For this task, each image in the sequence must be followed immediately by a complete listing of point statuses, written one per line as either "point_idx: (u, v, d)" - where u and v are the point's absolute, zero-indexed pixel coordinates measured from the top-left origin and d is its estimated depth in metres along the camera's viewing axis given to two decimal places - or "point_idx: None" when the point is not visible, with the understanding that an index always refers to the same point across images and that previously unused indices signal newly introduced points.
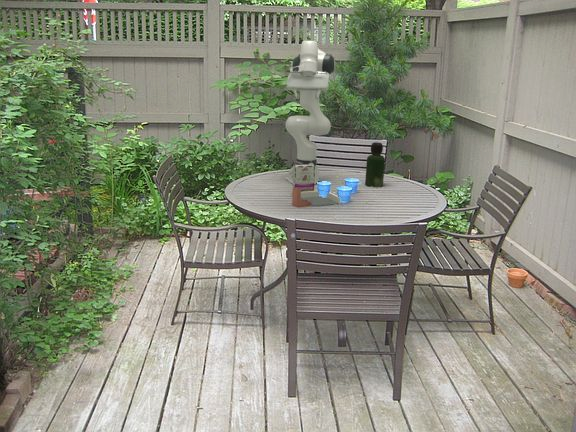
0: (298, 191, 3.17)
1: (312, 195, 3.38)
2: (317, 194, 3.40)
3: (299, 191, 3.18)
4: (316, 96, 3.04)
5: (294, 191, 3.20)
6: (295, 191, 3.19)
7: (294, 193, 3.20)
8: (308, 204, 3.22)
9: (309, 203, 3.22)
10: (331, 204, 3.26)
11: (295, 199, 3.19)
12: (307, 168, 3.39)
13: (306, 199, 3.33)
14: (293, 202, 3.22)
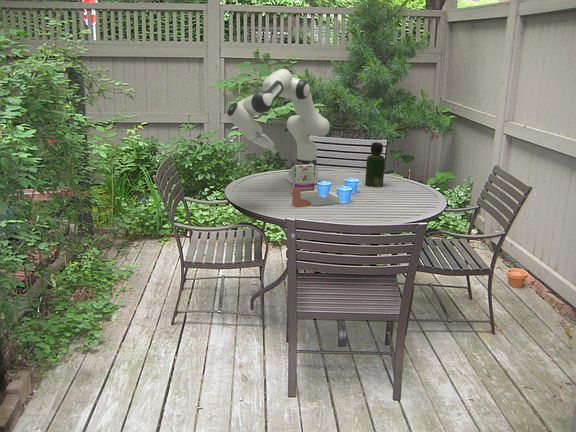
0: (298, 191, 3.17)
1: (312, 195, 3.38)
2: (317, 194, 3.40)
3: (299, 191, 3.18)
4: (272, 152, 3.10)
5: (294, 191, 3.20)
6: (295, 191, 3.19)
7: (294, 193, 3.20)
8: (308, 204, 3.22)
9: (309, 203, 3.22)
10: (331, 204, 3.26)
11: (295, 199, 3.19)
12: (307, 168, 3.39)
13: (306, 199, 3.33)
14: (293, 202, 3.22)
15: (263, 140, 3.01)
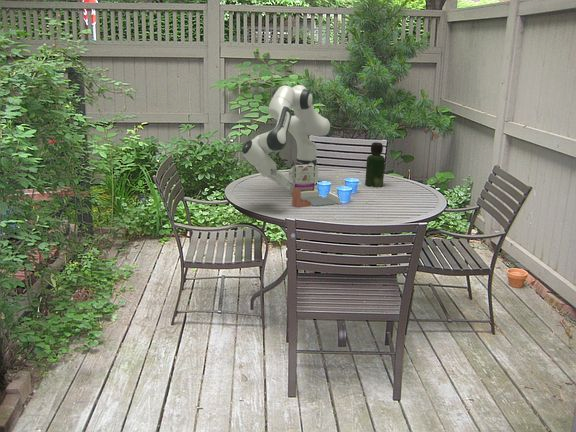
0: (298, 191, 3.17)
1: (312, 195, 3.38)
2: (317, 194, 3.40)
3: (299, 191, 3.18)
4: None
5: (294, 191, 3.20)
6: (295, 191, 3.19)
7: (294, 193, 3.20)
8: (308, 204, 3.22)
9: (309, 203, 3.22)
10: (331, 204, 3.26)
11: (295, 199, 3.19)
12: (307, 168, 3.39)
13: (306, 199, 3.33)
14: (293, 202, 3.22)
15: (278, 177, 3.03)
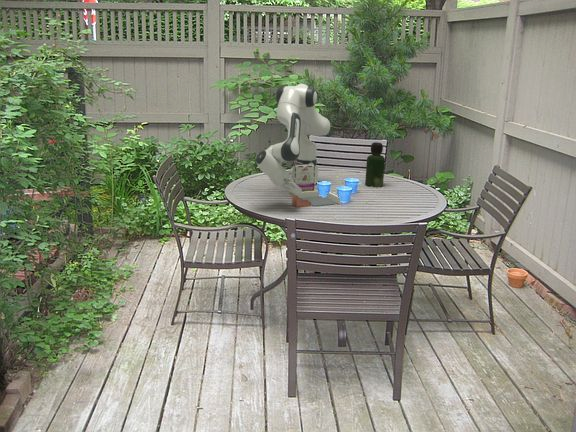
0: None
1: (312, 195, 3.38)
2: (317, 194, 3.40)
3: None
4: (298, 197, 3.17)
5: None
6: None
7: None
8: (308, 204, 3.22)
9: (309, 203, 3.22)
10: (331, 204, 3.26)
11: (295, 199, 3.19)
12: (307, 168, 3.39)
13: (306, 199, 3.33)
14: (293, 202, 3.22)
15: (291, 187, 3.07)
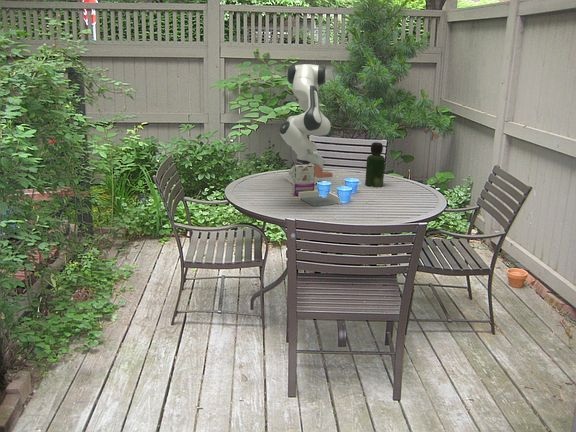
0: None
1: (312, 195, 3.38)
2: (317, 194, 3.40)
3: None
4: None
5: None
6: None
7: None
8: (330, 175, 3.25)
9: (331, 174, 3.26)
10: (331, 204, 3.26)
11: (318, 170, 3.23)
12: (307, 168, 3.39)
13: (306, 199, 3.33)
14: (315, 173, 3.26)
15: (314, 157, 3.11)
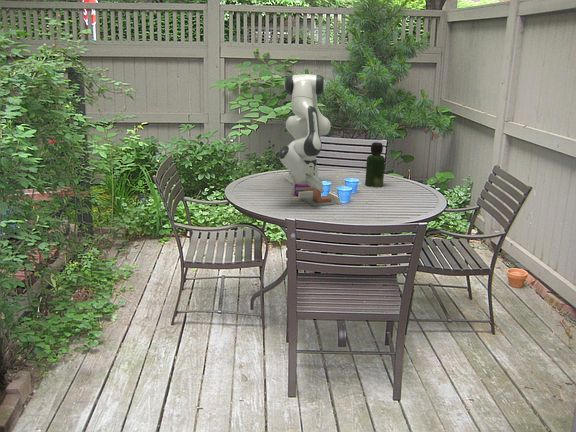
0: None
1: (312, 195, 3.38)
2: None
3: None
4: None
5: None
6: None
7: (315, 189, 3.27)
8: (328, 200, 3.29)
9: (329, 199, 3.29)
10: (331, 204, 3.26)
11: (316, 195, 3.26)
12: None
13: (306, 199, 3.33)
14: (314, 198, 3.29)
15: (313, 182, 3.14)
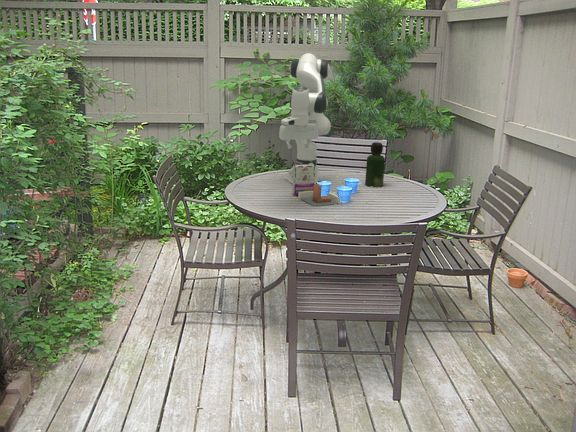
0: (319, 187, 3.25)
1: (312, 195, 3.38)
2: None
3: (320, 187, 3.25)
4: (307, 146, 3.17)
5: (315, 187, 3.27)
6: (316, 187, 3.26)
7: (315, 189, 3.27)
8: (328, 200, 3.29)
9: (329, 199, 3.29)
10: (331, 204, 3.26)
11: (316, 195, 3.26)
12: (307, 168, 3.39)
13: (306, 199, 3.33)
14: (314, 198, 3.29)
15: None
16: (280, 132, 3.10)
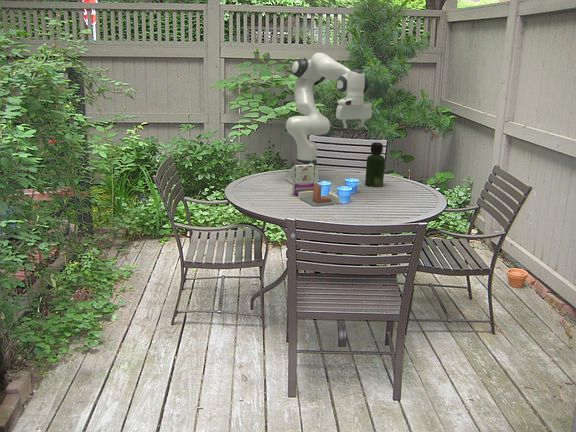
0: (319, 187, 3.25)
1: (312, 195, 3.38)
2: None
3: (320, 187, 3.25)
4: (361, 126, 3.37)
5: (315, 187, 3.27)
6: (316, 187, 3.26)
7: (315, 189, 3.27)
8: (328, 200, 3.29)
9: (329, 199, 3.29)
10: (331, 204, 3.26)
11: (316, 195, 3.26)
12: (307, 168, 3.39)
13: (306, 199, 3.33)
14: (314, 198, 3.29)
15: None
16: (337, 112, 3.30)
